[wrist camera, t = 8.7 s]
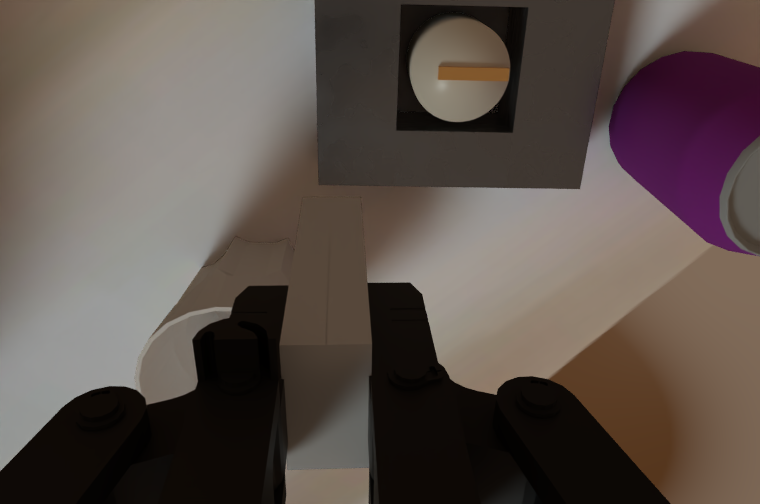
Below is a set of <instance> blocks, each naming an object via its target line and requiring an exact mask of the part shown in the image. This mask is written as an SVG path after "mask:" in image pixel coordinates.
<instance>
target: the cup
mask: <svg viewBox="0 0 760 504" xmlns="http://www.w3.org/2000/svg"><path fill="white" fill-rule="evenodd" d="M293 256H294V250H293V248H292V246H291V243H290V241H289V239H288V238H287V239H284V240H282V241H279V242H277V243H259V242H247V241H245V240H243V239H240V238H238V237H236V236H235V238H234V240H233V241H232V243H231V245H230V246H229V248H228V250H227V251H226V253H225V255H223V256H222V257H221V258H220V259H219V260H218V261H217V262H216V263H215V264H212V265H209V266H206V267H203V268H201V269H200V271H199V272H198V273H197V275H196V276H195V278H194V279H193V281H192V282H191V284H190V285H189V287H188V288H187V290H186V291H185V292H184V294H183V295H182V297H181V298H180V300H179V301H178V303H177V304H176V305H175V306H174V307H173V309H172V310H171V311H170V312H169V314H168V315H167V316H166V318H165V319H164V320H163V321H162V323H161V324H160V325H159V327H158V328H157V329H156V330H155V332H154V333H153V334H152V335H151V337H150V338H149V339H148V341H147V343H146V345H145V347H144V348H143V350H142V352H141V354H140V355H139V357H138V361H137V367H136V373H135V384H136V390H137V391H138V392H139V393H141V394H142V395H143V396H144V397H145V400H146V405H148V404H152V403H156V402H161V401H165V400H169V399H173V398H176V397H179V396H182V395H185V394H187V393H189V392H191V391H193V390H195V389H196V386H197V383H198V379H197V372H196V365H195V358H194V351H193V343H192V339H193V338H194V336H195V335H196V334H197V332H198V331H199V330H201V329H202V328H204V327H205V326H207V325H209V324H210V323H213V322H216V321H219V320H222V319H226V318H229V317H230V315H231V310H232V307H233V304H234V301H235V298H236V297H237V296H238V295H239V294H240V293H241V292H242V291H244V290H245V289H246V288H247V287H248V286H275V285H289V281H290V275H291V268H292V262H293Z"/></svg>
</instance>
